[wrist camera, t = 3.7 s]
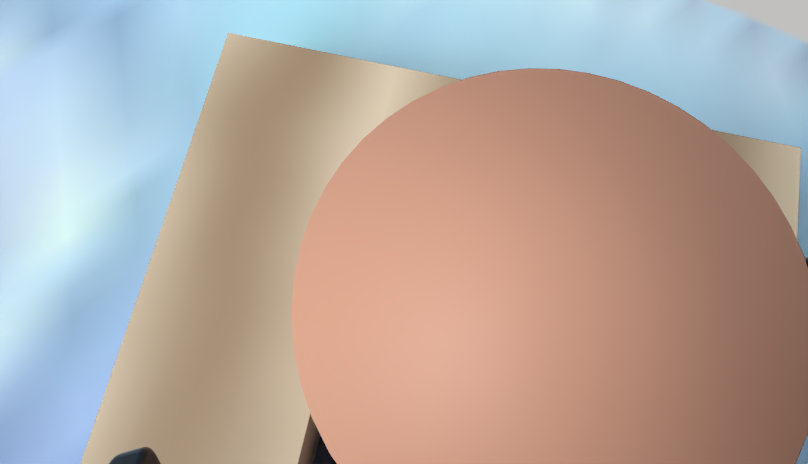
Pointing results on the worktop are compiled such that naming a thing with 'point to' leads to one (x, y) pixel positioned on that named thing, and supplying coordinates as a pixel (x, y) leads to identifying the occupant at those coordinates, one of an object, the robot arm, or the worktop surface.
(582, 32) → the worktop surface
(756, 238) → the terracotta peg
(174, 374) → the pocket block
